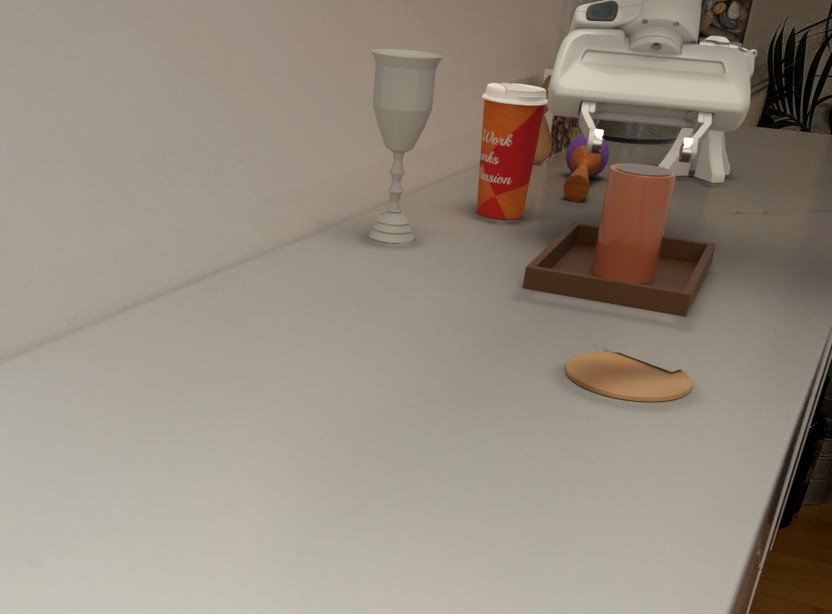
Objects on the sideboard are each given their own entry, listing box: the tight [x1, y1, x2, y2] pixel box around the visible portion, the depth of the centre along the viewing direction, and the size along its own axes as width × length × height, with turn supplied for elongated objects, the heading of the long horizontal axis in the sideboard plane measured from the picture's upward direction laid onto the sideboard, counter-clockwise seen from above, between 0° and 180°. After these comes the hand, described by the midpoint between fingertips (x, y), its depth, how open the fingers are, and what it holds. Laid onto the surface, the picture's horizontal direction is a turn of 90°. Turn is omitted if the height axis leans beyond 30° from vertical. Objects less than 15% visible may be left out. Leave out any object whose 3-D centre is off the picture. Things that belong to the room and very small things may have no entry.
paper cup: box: [476, 82, 548, 220], centre depth 129 cm, size 8×8×14 cm
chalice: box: [368, 48, 443, 244], centre depth 115 cm, size 7×7×18 cm
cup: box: [591, 163, 678, 284], centre depth 108 cm, size 6×6×10 cm
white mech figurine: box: [657, 35, 758, 184], centre depth 157 cm, size 12×13×18 cm
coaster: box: [565, 351, 693, 403], centre depth 87 cm, size 10×10×1 cm
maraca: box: [562, 132, 610, 203], centre depth 148 cm, size 6×6×20 cm
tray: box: [522, 221, 717, 317], centre depth 110 cm, size 22×16×3 cm
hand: (640, 154), depth 110 cm, fingers open, 8 cm apart
